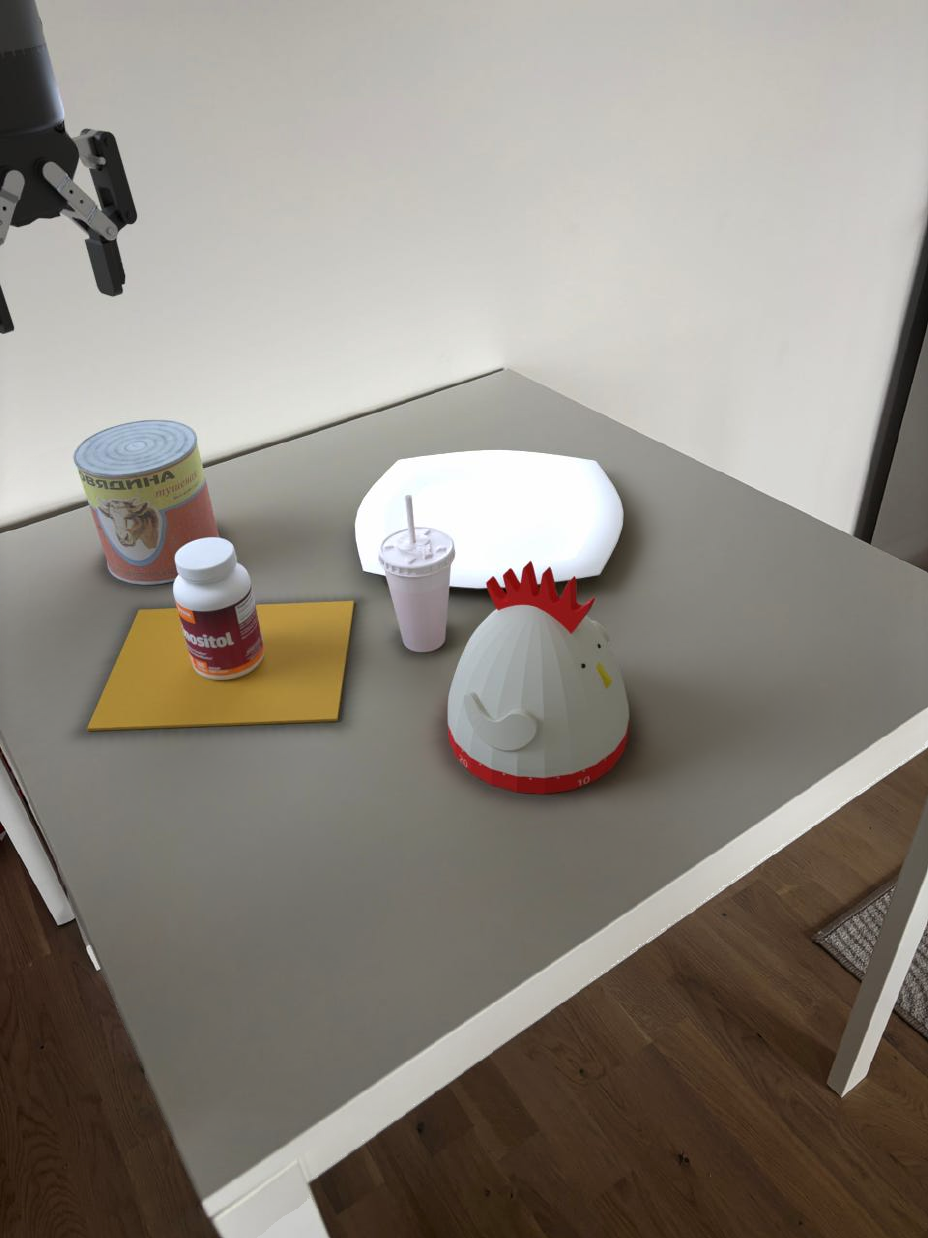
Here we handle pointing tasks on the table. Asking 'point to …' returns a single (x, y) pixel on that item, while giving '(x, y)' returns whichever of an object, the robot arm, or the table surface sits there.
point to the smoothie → (418, 581)
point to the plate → (499, 513)
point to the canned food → (145, 496)
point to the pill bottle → (217, 610)
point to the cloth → (270, 694)
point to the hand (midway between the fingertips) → (58, 311)
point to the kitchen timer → (537, 691)
